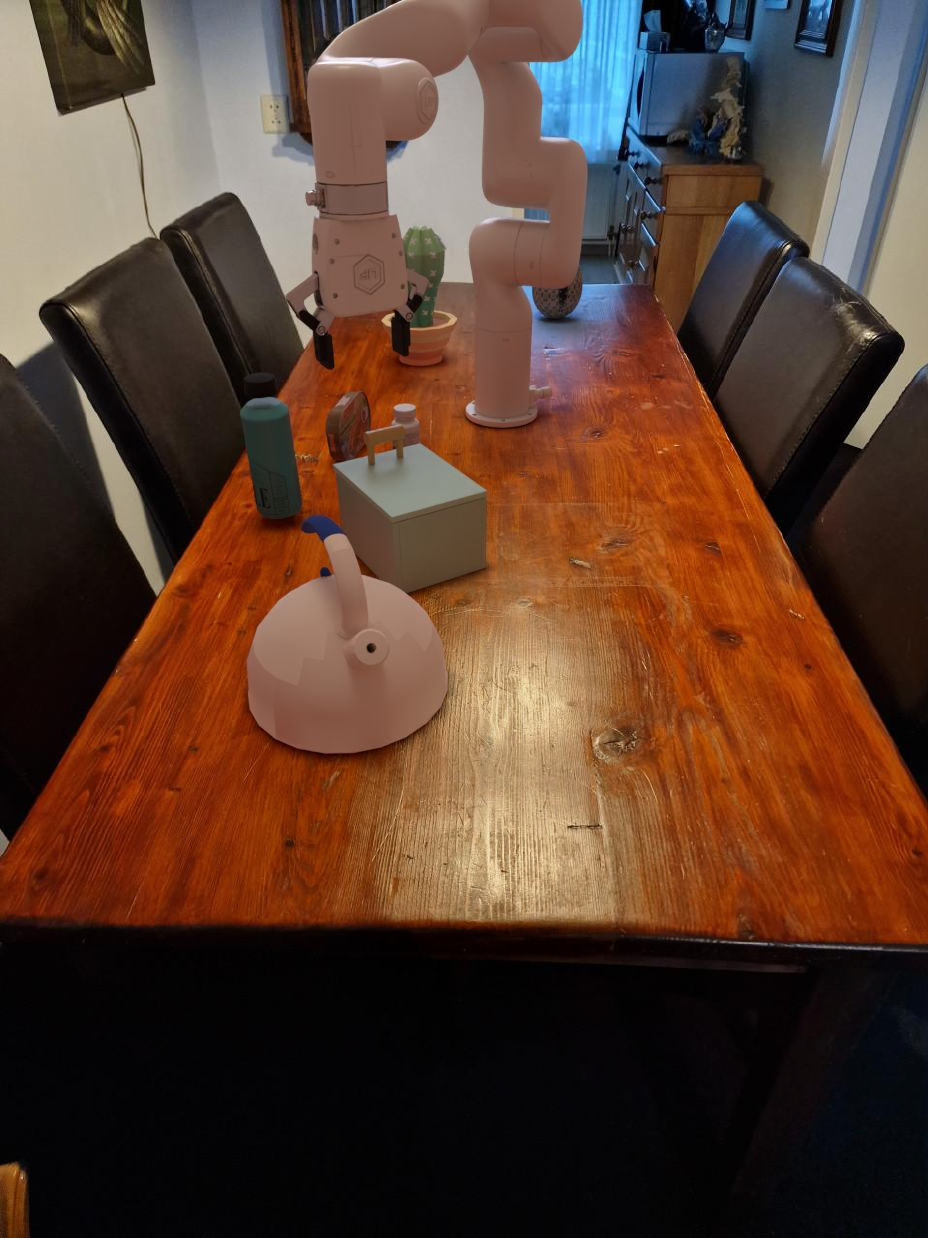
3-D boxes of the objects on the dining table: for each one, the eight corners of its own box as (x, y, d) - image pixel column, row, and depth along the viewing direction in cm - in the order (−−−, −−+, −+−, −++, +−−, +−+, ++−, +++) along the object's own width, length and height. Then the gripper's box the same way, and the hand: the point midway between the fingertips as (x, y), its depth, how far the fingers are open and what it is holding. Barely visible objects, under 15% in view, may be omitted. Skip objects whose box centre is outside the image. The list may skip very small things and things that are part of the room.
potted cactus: (472, 361, 168) (473, 228, 153) (408, 375, 161) (402, 238, 146) (432, 343, 178) (429, 217, 164) (370, 355, 171) (361, 225, 157)
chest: (342, 540, 108) (335, 472, 102) (425, 517, 113) (423, 451, 107) (396, 596, 97) (392, 523, 91) (486, 567, 102) (487, 497, 96)
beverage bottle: (313, 511, 115) (295, 369, 103) (290, 533, 109) (269, 387, 98) (272, 504, 116) (250, 364, 105) (247, 525, 111) (222, 381, 100)
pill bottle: (392, 448, 132) (390, 402, 128) (420, 447, 132) (418, 401, 128) (393, 460, 128) (390, 412, 124) (421, 459, 129) (419, 411, 124)
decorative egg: (526, 312, 198) (529, 245, 190) (574, 310, 200) (578, 244, 191) (535, 325, 189) (538, 256, 180) (585, 323, 190) (590, 254, 181)
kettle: (274, 785, 72) (241, 618, 62) (231, 654, 88) (199, 503, 77) (481, 722, 79) (484, 562, 68) (407, 610, 94) (400, 466, 84)
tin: (345, 470, 125) (340, 418, 121) (326, 469, 126) (320, 416, 121) (373, 433, 137) (370, 384, 133) (356, 431, 138) (351, 382, 133)
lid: (332, 469, 103) (329, 432, 100) (420, 448, 108) (419, 412, 105) (392, 523, 91) (389, 482, 88) (487, 496, 96) (487, 457, 94)
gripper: (289, 211, 81) (308, 381, 91) (440, 198, 88) (443, 356, 98) (264, 201, 87) (284, 363, 96) (408, 190, 94) (414, 341, 104)
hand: (364, 359), depth 97 cm, fingers open, 9 cm apart
